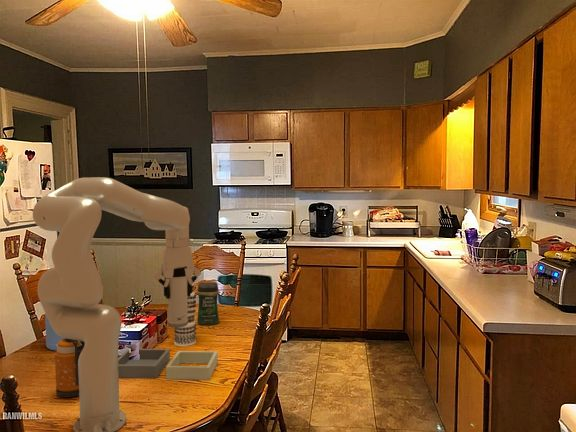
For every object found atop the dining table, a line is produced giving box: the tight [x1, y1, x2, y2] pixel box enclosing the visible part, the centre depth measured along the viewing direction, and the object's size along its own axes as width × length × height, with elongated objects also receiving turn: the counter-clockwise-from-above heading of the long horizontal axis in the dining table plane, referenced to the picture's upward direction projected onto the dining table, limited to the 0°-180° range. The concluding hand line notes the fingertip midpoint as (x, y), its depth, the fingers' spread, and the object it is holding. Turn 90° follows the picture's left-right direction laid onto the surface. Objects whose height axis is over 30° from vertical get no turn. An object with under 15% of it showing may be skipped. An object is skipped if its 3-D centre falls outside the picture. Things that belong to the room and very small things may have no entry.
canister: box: [54, 338, 85, 398], centre depth 132 cm, size 9×11×20 cm
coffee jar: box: [196, 281, 220, 326], centre depth 201 cm, size 10×8×19 cm
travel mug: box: [167, 266, 188, 328], centre depth 148 cm, size 6×7×20 cm
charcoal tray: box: [118, 348, 171, 379], centre depth 151 cm, size 15×15×4 cm
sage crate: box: [165, 350, 219, 381], centre depth 149 cm, size 14×14×4 cm
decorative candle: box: [173, 282, 197, 347], centre depth 175 cm, size 9×9×25 cm
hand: (178, 296), depth 148 cm, fingers closed on travel mug, 6 cm apart
